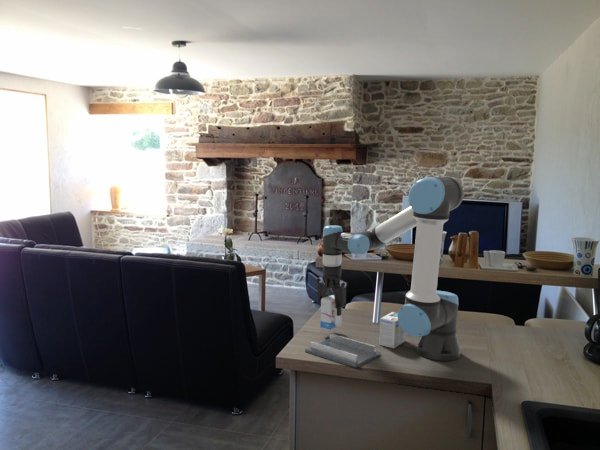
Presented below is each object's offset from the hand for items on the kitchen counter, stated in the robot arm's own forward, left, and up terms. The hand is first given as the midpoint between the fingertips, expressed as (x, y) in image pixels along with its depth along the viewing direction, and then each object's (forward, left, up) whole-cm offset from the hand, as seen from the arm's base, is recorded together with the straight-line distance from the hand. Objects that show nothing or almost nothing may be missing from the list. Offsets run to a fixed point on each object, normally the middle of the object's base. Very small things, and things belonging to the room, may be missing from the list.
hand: (331, 321), depth 211 cm
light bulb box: (-24, -8, -5) cm, 25 cm away
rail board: (-16, +14, -5) cm, 22 cm away
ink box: (0, 0, -2) cm, 2 cm away
